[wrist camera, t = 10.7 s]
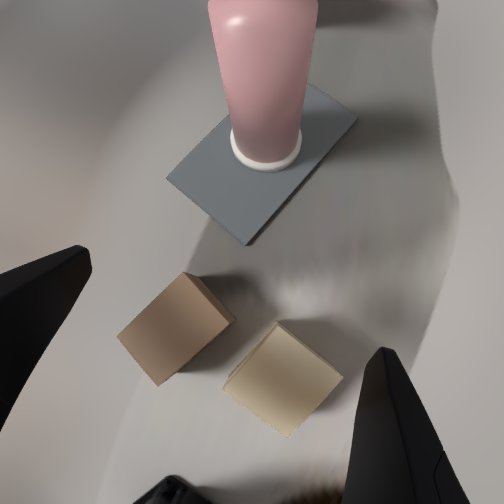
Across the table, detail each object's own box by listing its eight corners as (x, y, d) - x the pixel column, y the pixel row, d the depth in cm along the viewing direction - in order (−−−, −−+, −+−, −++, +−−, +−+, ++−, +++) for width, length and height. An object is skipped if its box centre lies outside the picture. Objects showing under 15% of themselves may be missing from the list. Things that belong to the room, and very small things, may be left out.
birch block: (284, 415, 20) (287, 437, 16) (230, 373, 20) (222, 389, 17) (330, 363, 20) (343, 377, 16) (276, 320, 21) (278, 326, 17)
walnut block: (176, 372, 21) (157, 386, 17) (141, 331, 21) (116, 336, 17) (236, 319, 21) (229, 323, 17) (198, 276, 22) (183, 271, 18)
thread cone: (270, 186, 22) (272, 52, 9) (217, 146, 22) (175, 11, 10) (314, 140, 22) (348, 3, 9) (262, 104, 23) (256, -32, 10)
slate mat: (245, 246, 22) (245, 245, 21) (167, 179, 23) (165, 178, 22) (357, 119, 23) (358, 116, 22) (281, 70, 24) (282, 67, 23)
